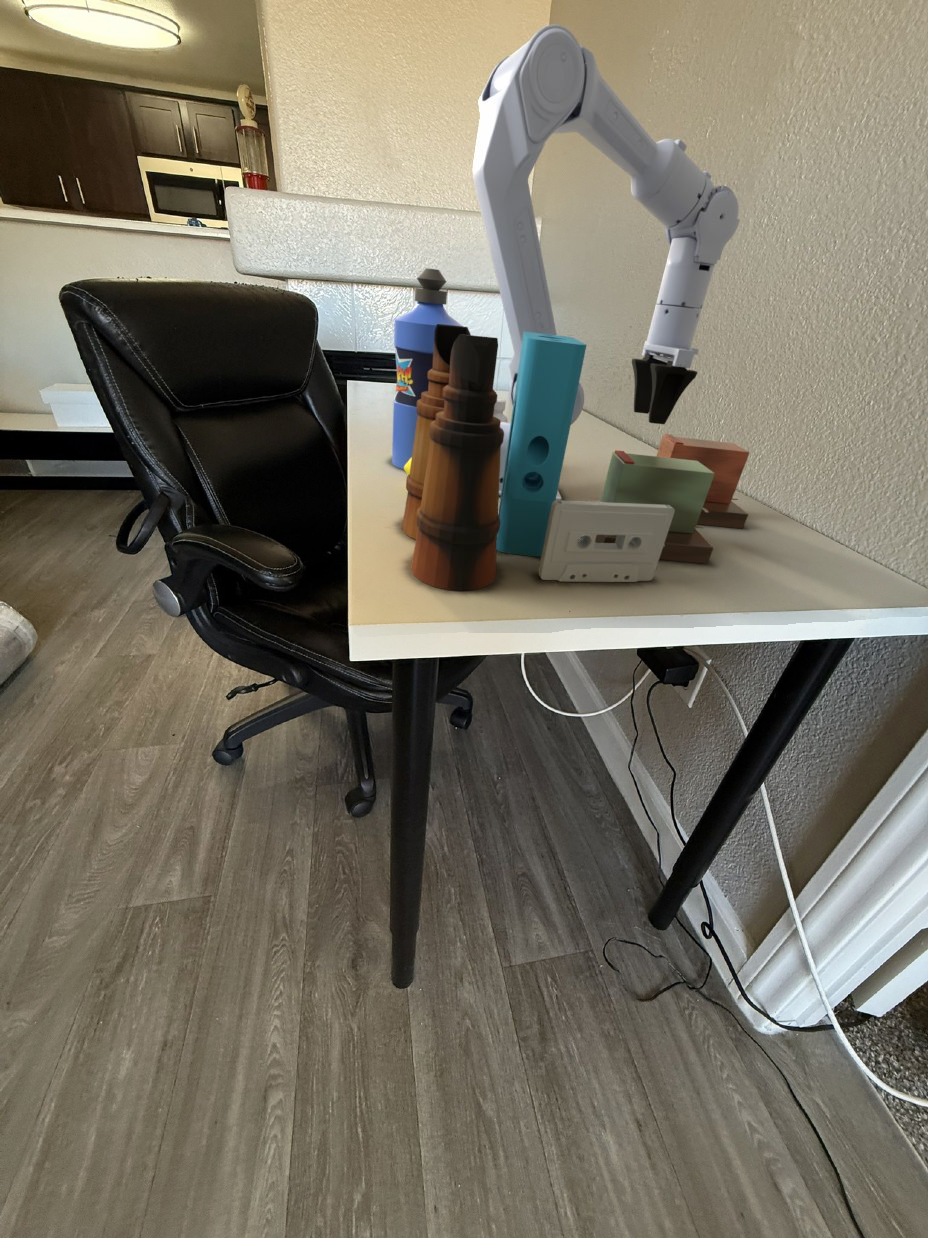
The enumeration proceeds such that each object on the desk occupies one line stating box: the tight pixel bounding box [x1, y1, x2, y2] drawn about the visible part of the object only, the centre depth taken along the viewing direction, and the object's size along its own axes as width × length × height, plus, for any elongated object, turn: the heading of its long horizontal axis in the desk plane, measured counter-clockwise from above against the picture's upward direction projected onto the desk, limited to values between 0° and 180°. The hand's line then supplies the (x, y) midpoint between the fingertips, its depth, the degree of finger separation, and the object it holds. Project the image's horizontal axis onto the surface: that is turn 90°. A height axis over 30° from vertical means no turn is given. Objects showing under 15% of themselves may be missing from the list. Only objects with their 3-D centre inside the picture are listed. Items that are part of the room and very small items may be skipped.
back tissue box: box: [656, 433, 751, 504], centre depth 71 cm, size 10×5×7 cm, turn 89°
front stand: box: [584, 500, 714, 565], centre depth 62 cm, size 14×14×2 cm
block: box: [496, 332, 587, 557], centre depth 53 cm, size 12×5×20 cm, turn 176°
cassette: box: [537, 500, 675, 583], centre depth 50 cm, size 12×2×8 cm, turn 99°
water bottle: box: [391, 267, 463, 470], centre depth 73 cm, size 9×9×25 cm
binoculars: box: [401, 324, 504, 592], centre depth 49 cm, size 18×8×20 cm, turn 11°
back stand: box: [697, 497, 749, 529], centre depth 73 cm, size 14×14×2 cm
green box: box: [600, 450, 715, 534], centre depth 59 cm, size 10×5×7 cm, turn 89°
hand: (648, 417), depth 74 cm, fingers open, 7 cm apart
